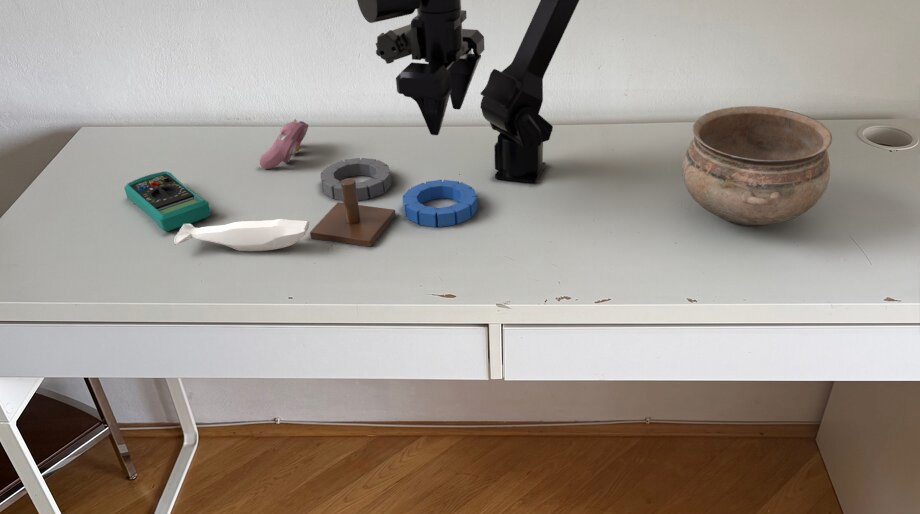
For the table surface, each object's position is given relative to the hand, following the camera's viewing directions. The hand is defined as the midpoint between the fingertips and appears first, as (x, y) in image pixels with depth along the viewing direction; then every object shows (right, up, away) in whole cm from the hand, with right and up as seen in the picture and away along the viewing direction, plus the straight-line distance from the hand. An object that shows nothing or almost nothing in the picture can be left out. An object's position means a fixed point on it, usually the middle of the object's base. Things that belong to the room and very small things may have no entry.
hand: (446, 121), depth 123 cm
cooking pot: (+42, -13, -1) cm, 44 cm away
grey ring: (-14, -7, +11) cm, 19 cm away
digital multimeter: (-41, -11, +7) cm, 43 cm away
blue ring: (-1, -12, +4) cm, 12 cm away
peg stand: (-13, -15, 0) cm, 20 cm away
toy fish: (-27, -18, -3) cm, 33 cm away
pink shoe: (-26, -1, +20) cm, 33 cm away
